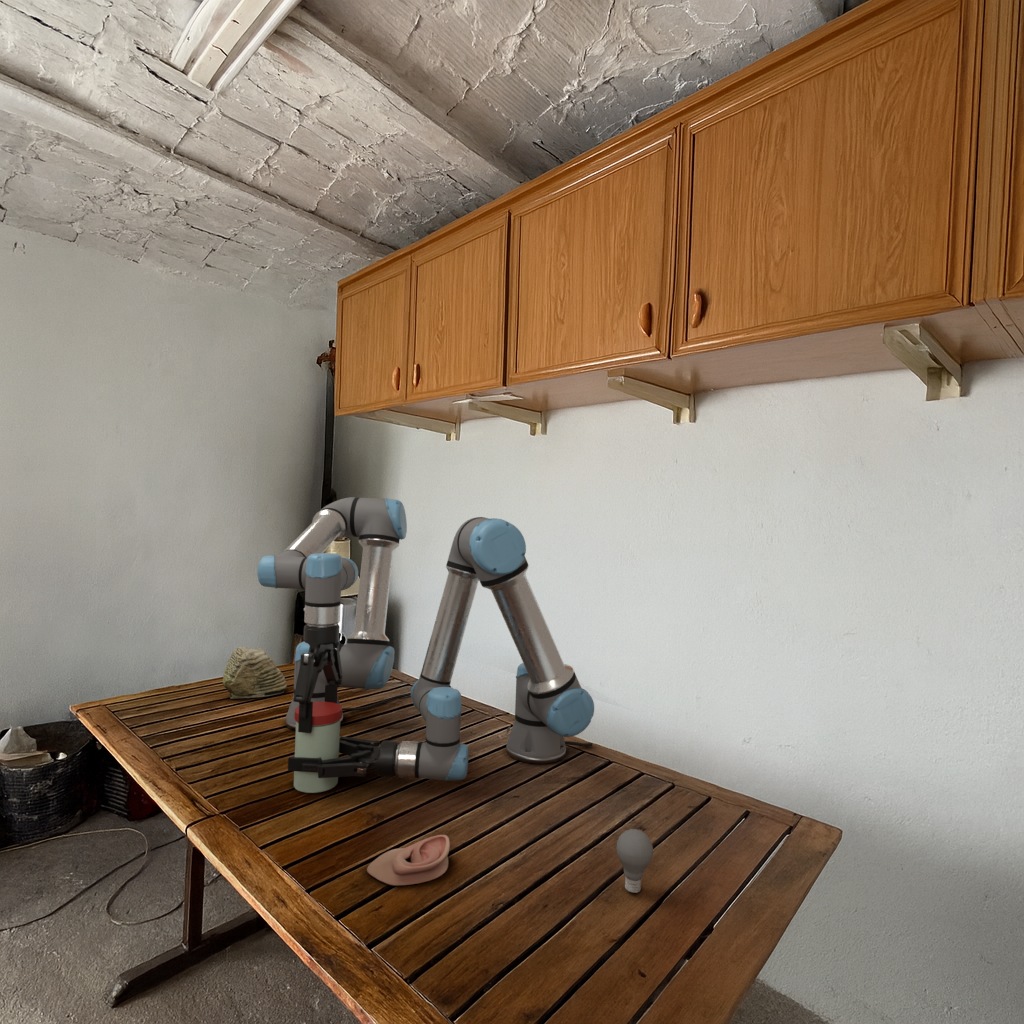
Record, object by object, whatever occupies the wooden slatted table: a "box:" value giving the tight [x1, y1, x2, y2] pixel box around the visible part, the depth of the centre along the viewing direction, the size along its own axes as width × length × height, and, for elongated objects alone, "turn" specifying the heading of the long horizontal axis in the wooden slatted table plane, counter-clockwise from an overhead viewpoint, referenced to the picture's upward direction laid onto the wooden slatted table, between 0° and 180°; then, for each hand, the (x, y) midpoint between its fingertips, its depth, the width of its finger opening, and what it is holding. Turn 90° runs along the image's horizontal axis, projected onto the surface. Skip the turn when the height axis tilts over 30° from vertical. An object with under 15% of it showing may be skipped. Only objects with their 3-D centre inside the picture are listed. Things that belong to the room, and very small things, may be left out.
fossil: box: [222, 646, 288, 699], centre depth 198 cm, size 9×18×15 cm, turn 132°
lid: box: [295, 702, 343, 725], centre depth 140 cm, size 10×10×2 cm
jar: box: [293, 720, 341, 794], centre depth 140 cm, size 9×9×16 cm
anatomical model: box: [366, 834, 451, 886], centre depth 109 cm, size 13×4×12 cm
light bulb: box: [615, 828, 654, 894], centre depth 106 cm, size 6×6×10 cm
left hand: (318, 722), depth 140 cm, fingers open, 11 cm apart
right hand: (297, 754), depth 140 cm, fingers closed on jar, 9 cm apart
